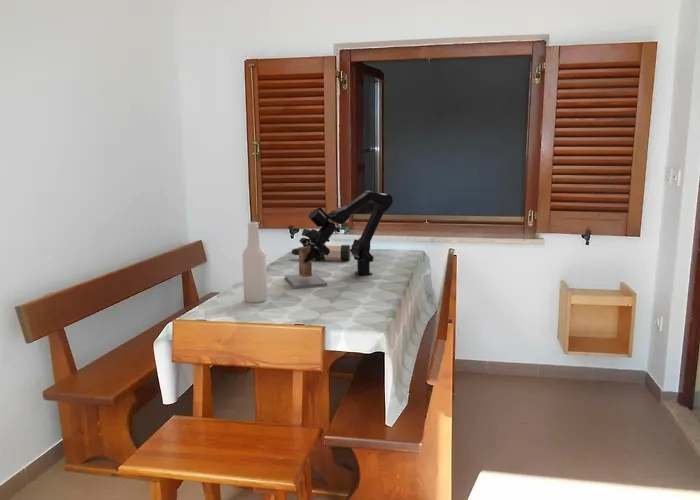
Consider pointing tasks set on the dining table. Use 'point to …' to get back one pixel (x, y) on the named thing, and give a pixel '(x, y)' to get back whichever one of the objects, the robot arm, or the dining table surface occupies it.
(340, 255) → the wine bottle
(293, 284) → the slate board
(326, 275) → the dining table surface
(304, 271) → the wooden pillar
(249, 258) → the alcohol
